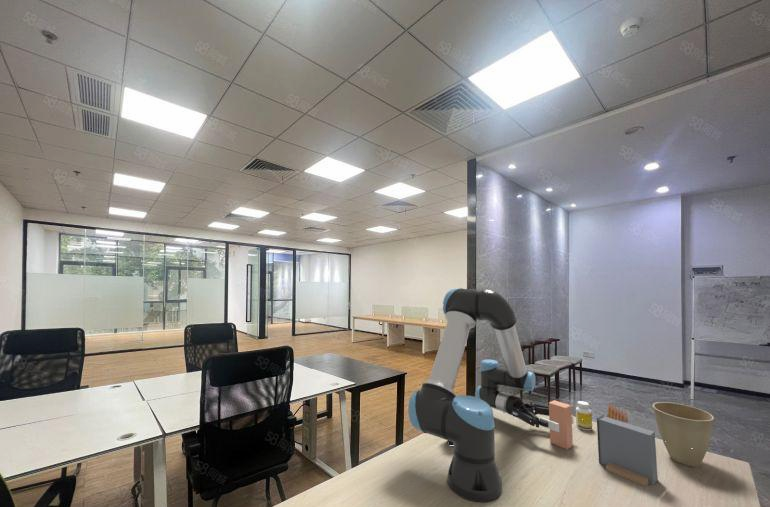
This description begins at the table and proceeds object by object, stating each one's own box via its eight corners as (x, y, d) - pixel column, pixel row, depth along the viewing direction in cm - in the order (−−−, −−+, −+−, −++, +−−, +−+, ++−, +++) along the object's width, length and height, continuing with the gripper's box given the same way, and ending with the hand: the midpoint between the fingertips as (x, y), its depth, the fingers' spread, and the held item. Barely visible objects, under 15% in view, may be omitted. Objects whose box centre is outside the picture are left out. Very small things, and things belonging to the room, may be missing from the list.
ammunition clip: (631, 448, 114) (629, 413, 115) (626, 448, 114) (624, 413, 115) (611, 434, 124) (610, 402, 125) (606, 434, 124) (605, 401, 125)
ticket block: (595, 466, 103) (593, 420, 104) (607, 457, 108) (605, 413, 109) (650, 489, 92) (647, 437, 93) (660, 477, 97) (657, 428, 98)
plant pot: (646, 455, 109) (643, 406, 111) (668, 445, 116) (665, 399, 117) (705, 479, 96) (701, 424, 97) (726, 466, 103) (722, 414, 104)
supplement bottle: (594, 431, 126) (593, 405, 127) (579, 430, 127) (578, 404, 128) (588, 425, 132) (587, 400, 133) (574, 424, 133) (573, 399, 133)
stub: (550, 442, 117) (548, 402, 119) (555, 439, 120) (554, 400, 121) (567, 449, 113) (565, 407, 114) (572, 446, 115) (571, 405, 116)
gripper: (525, 407, 140) (580, 426, 121) (493, 420, 127) (550, 444, 108) (524, 389, 140) (580, 405, 122) (492, 400, 127) (549, 421, 109)
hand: (565, 423), depth 115 cm, fingers open, 10 cm apart
